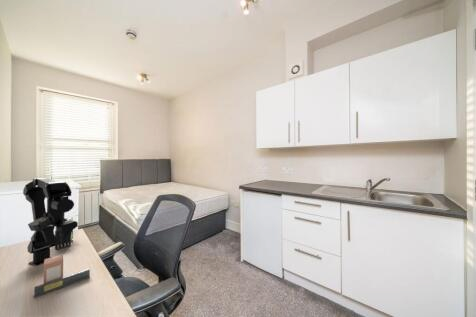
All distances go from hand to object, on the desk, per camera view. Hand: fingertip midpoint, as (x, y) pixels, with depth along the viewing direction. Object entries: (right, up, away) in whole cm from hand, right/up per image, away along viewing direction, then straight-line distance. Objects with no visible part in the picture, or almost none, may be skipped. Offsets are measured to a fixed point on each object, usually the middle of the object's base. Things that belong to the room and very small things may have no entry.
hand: (55, 242), depth 82 cm
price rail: (+13, -13, -9) cm, 21 cm away
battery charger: (-18, -13, +22) cm, 31 cm away
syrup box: (-23, -13, +28) cm, 39 cm away
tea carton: (+7, -13, -8) cm, 17 cm away
